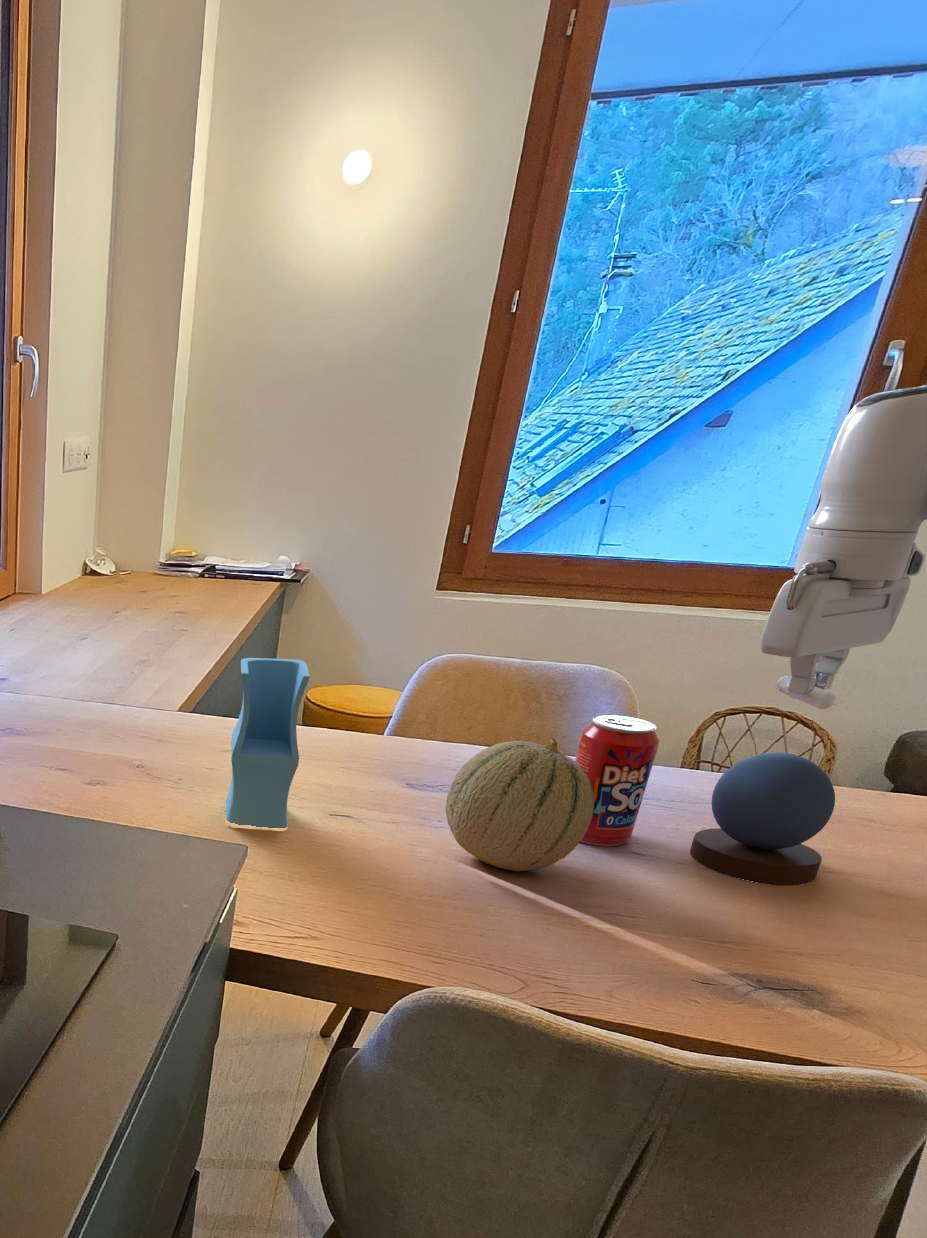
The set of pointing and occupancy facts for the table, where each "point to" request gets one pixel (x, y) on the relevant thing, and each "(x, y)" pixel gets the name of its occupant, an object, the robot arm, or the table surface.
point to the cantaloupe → (520, 805)
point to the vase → (265, 741)
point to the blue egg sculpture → (767, 820)
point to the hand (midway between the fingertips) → (808, 691)
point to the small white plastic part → (808, 694)
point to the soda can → (616, 774)
